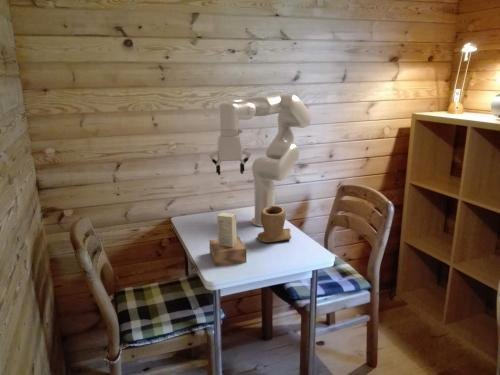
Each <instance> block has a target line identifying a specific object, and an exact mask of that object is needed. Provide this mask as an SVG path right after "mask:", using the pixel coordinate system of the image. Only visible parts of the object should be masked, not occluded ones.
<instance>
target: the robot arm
mask: <svg viewBox="0 0 500 375" xmlns="http://www.w3.org/2000/svg"><path fill="white" fill-rule="evenodd" d="M276 114H278V115H277V126H278V128H277V129H278V131H277V134H276V135H275V137H274V139H272V141H271V143H270V144H269V145H268V147H266V148H267V149H266V150H265V155H266V157H257V158H255V160H253V162H252V164H251V170H252V171H251V172H252V176H253V183H254V184H253V185H254V186H253V187H254V189H253V190H254V194H253V195H254V217H253V218H252V219H251V224H252V225H254V226H257V227H262V228H263V226H262V223H261V212H262V210H263V209H264V208H266V207H270V206H276V205H275V195H276V194H275V193H276V191H275V190H276V189H275V188H276V187H275V183H274V181H276V182H282V181H284V180H285V179H286V178H287V177H288V176H289V174H290V173H291V171H292V170H293V168H294V166H295V165H296V163H297V162H298V160H299V158H300V148H299V146H298V145H297V144H295V143H294V140H295V138H294V133H293V130H292V128H298V129H299V128H300V129H303V128H304V129H305V128H307V127H308V126H310V124H311V121H312V116H311V113H310V111H309V109H308V108H307V106H306V105H305V104H304V103H303V101H302V100H301V99H300V98H299V97H298V96H297V95H295V94H288V93H287V94H283V93H280V94H272V95H271V94H270V95H264V96H257V97H256V96H255V97H250V98H241V99H240V98H239V99H233V100H229V101H227V102H223V103H221V104H220V105H219V132H220V136H218V139H217V148H216V150H215V151H214V152H212V153H210V154H209V155H208V156H209V158H210V160H211V162H212V163H213V164H214V165H215V170H216V174H217V175H218V176H221V165H220V164H221V163H222V162H233V161H239V162H240V164H239V173H240V174H242V175H244V172H245V164H246V163H247V162H248V161H249V159H250V156H251V153H250V152H248V151H246V150H244V149H243V146H242V145H243V144H242V139H241V135H240V134H243V130H242V129H239V121H240V120H244V121H247V120H251V119H253V118H254V117H267V116H271V115H276ZM243 154H244V155H245V157H244V159H243ZM215 156H216V157H217V160H216V159H215V158H214V157H215Z"/></svg>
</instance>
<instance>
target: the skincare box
mask: <svg viewBox="0 0 500 375" xmlns="http://www.w3.org/2000/svg"><path fill="white" fill-rule="evenodd" d="M216 222H217V223H216V224H217V239H218V245H221V246H227V247H233V246H234V245H235V244H236V243H237V237H238V236H237V214H236V213H231V212H224V211H222V212H220V213H219V214H217V216H216Z"/></svg>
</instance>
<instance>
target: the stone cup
mask: <svg viewBox="0 0 500 375" xmlns="http://www.w3.org/2000/svg"><path fill="white" fill-rule="evenodd" d="M286 215H287V214H286V211H285V208H283V207H282V206H280V205H275V206H270V207H266V208H264V209H263V210H262V212H261V223H262V226H263V227H262V229H263V231H260V232H258V234H257V238H258V240H259V241H260V242H263V243H274V242H275V243H276V242H281V241H288V240H290V239H292V234H291V229H290V228H284V227H285V226H284V225H285V222H286V217H287V216H286Z"/></svg>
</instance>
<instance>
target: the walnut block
mask: <svg viewBox="0 0 500 375" xmlns="http://www.w3.org/2000/svg"><path fill="white" fill-rule="evenodd" d="M208 242H209V254H210V257H211V259H212V262H213V265H214V267H219V266H227V265H234V264H236V265H237V264H243V263H247V246H245V244H244V243H243V241H242V240H241V238H240V237H239V236H237V243H236V244H235V245H234V246H233V247H227V246H221V245H218V238H217V239H216V238H215V239H209V241H208Z"/></svg>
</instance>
